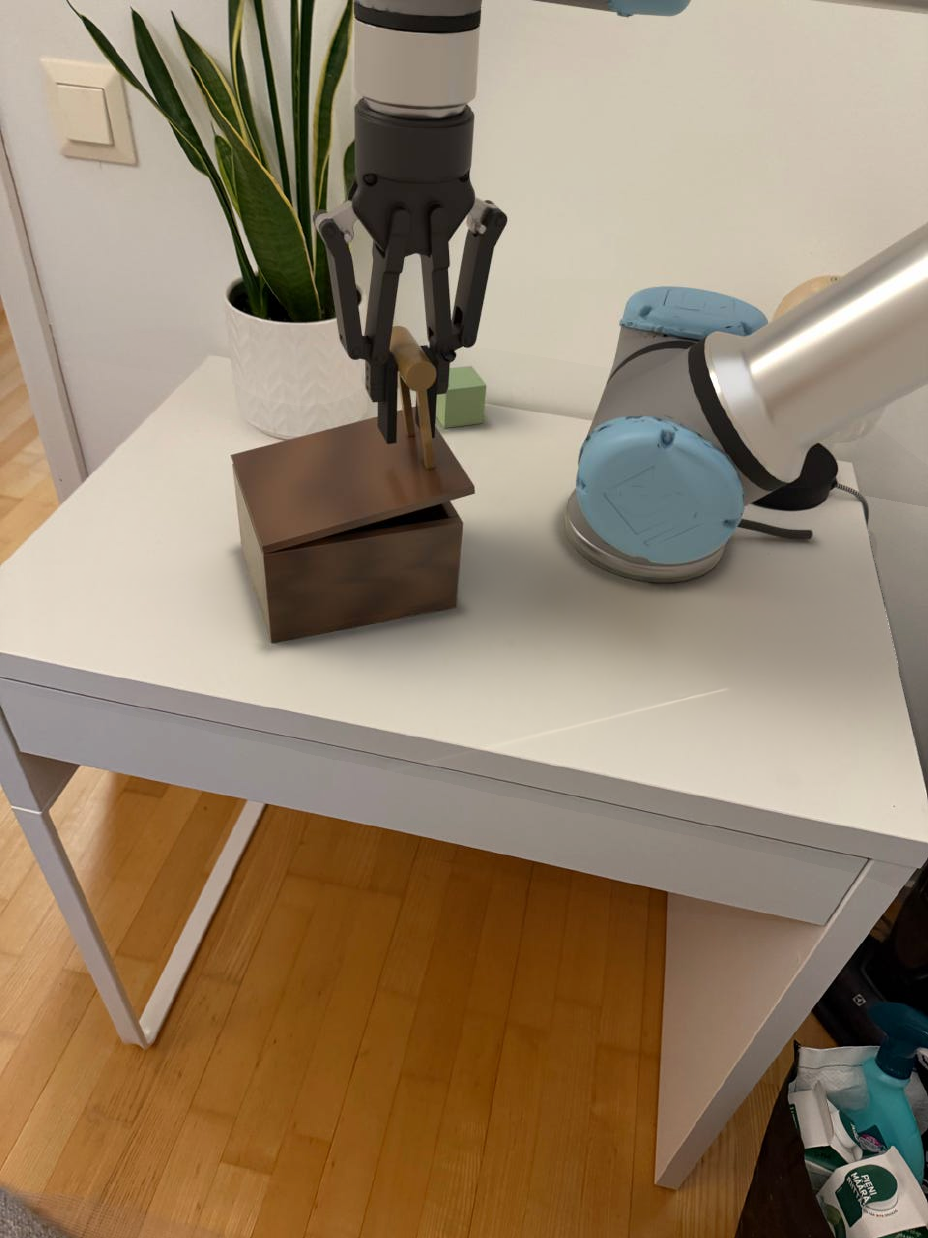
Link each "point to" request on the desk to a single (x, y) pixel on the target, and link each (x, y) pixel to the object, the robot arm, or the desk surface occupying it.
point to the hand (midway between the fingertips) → (405, 431)
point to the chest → (355, 572)
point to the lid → (353, 468)
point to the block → (462, 399)
